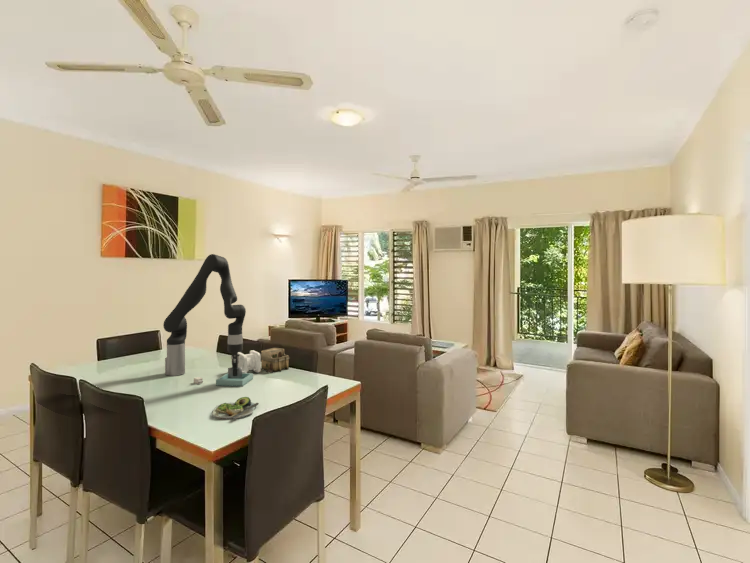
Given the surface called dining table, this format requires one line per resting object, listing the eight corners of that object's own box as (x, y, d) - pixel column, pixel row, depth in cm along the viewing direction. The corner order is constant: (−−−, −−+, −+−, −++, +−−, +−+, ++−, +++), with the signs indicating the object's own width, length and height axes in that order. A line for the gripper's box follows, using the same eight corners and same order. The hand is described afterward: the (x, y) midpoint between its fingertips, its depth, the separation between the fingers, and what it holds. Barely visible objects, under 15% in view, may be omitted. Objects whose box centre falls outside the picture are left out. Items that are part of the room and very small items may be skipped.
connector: (227, 378, 203) (227, 369, 203) (228, 377, 206) (228, 367, 206) (245, 377, 205) (245, 368, 205) (245, 375, 208) (245, 366, 208)
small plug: (193, 382, 204) (193, 378, 204) (198, 381, 206) (198, 377, 206) (199, 384, 201) (198, 379, 201) (203, 383, 203) (203, 378, 203)
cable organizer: (261, 374, 223) (261, 353, 222) (243, 376, 216) (243, 356, 216) (252, 368, 235) (252, 349, 234) (234, 371, 228) (234, 351, 228)
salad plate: (255, 421, 154) (255, 409, 153) (206, 424, 150) (206, 412, 150) (259, 404, 173) (259, 394, 172) (217, 407, 169) (217, 396, 169)
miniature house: (256, 370, 232) (256, 351, 231) (273, 365, 244) (273, 347, 243) (274, 373, 224) (274, 353, 224) (291, 368, 236) (291, 349, 236)
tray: (215, 385, 199) (215, 379, 199) (227, 378, 213) (227, 372, 213) (242, 386, 198) (242, 380, 198) (252, 378, 212) (252, 373, 212)
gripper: (242, 344, 199) (242, 378, 200) (243, 340, 213) (243, 371, 213) (226, 345, 197) (226, 379, 198) (228, 340, 211) (228, 372, 211)
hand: (235, 375), depth 206 cm, fingers closed on connector, 3 cm apart
